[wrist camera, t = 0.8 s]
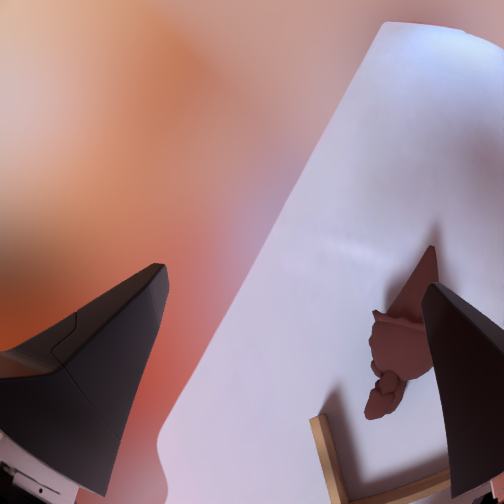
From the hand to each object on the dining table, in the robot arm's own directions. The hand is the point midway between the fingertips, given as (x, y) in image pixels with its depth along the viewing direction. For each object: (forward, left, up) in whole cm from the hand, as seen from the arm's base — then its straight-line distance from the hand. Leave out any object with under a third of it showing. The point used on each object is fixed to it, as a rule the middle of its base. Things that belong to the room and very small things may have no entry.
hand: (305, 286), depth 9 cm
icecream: (-1, -4, -19) cm, 20 cm away
